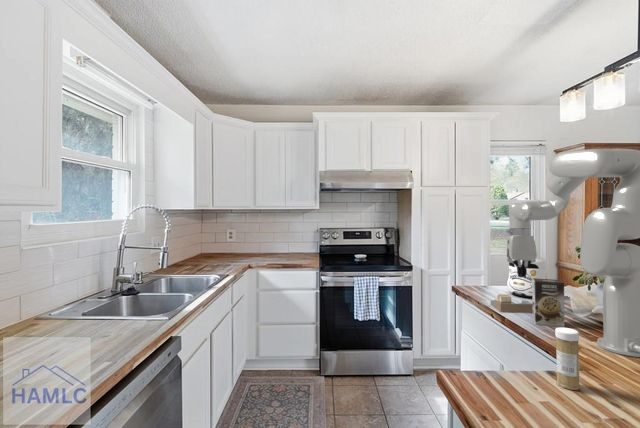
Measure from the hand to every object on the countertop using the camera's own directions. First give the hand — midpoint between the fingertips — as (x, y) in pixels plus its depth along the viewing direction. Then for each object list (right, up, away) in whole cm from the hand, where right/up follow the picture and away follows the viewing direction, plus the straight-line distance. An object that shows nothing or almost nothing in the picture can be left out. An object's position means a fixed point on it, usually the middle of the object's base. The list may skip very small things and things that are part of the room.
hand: (522, 276), depth 139 cm
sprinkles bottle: (-25, -15, -59) cm, 66 cm away
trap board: (-2, -14, +3) cm, 15 cm away
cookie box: (0, -15, -16) cm, 22 cm away
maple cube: (-6, -12, +2) cm, 14 cm away
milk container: (+17, -14, +24) cm, 33 cm away
